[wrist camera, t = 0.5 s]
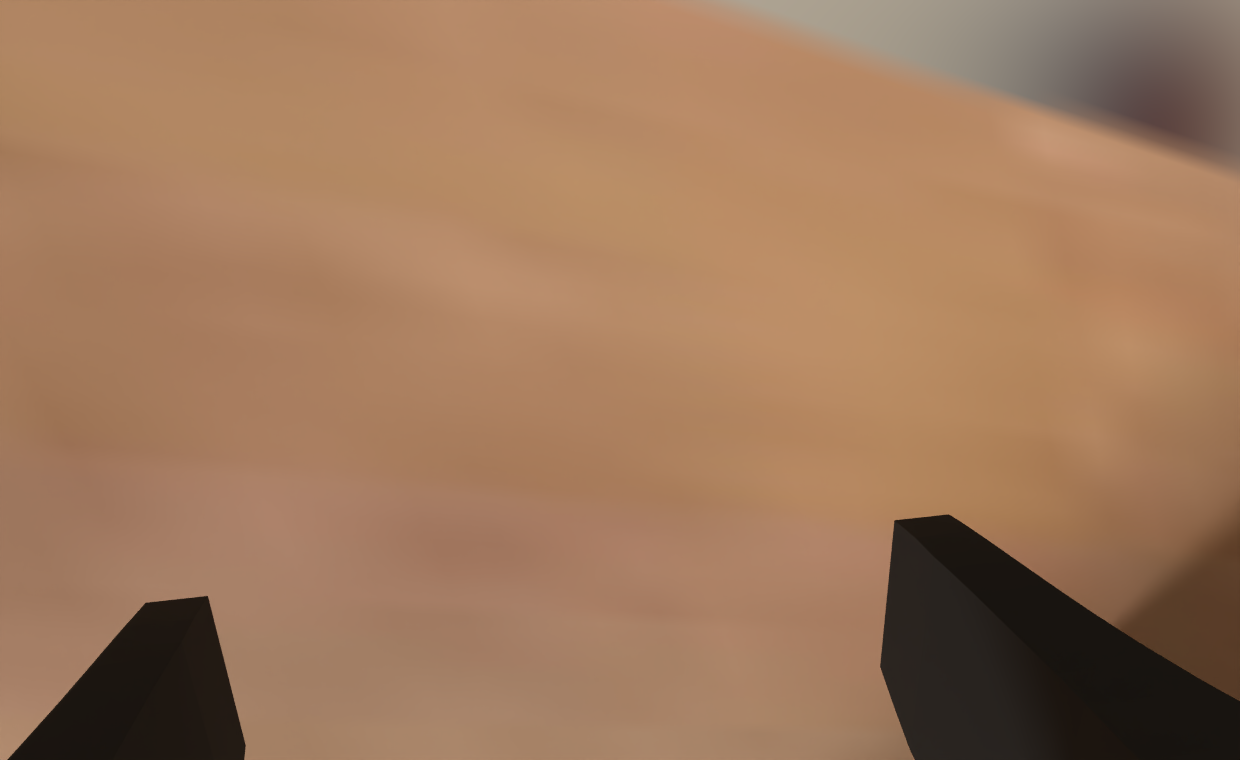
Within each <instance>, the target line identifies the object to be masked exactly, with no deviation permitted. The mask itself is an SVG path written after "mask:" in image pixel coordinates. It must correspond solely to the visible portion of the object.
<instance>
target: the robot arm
mask: <svg viewBox="0 0 1240 760" xmlns="http://www.w3.org/2000/svg"><path fill="white" fill-rule="evenodd" d="M880 667H881V670H882V673H883V676H884V679H885V682H886V685H887V687H888V690H889V693H890V696H891V699H892V702H893V705H894V708H895V711H896V713H897V716H898V719H899V721H900V724H901V727H902V729H903V732H904V735H905V737H906V740H907V743H908V745H909V748H910V750H911V753H912V755H913V757H914V759H915V760H1240V701H1238V700H1236V699H1235V698H1233V697H1231V696H1229V695H1227V694H1225V693H1224V692H1222V691H1220V690H1218V689H1216V688H1215V687H1213V686H1211V685H1209V684H1207V683H1206V682H1204V681H1202V680H1200V679H1199V678H1197V677H1195V676H1194V675H1192V674H1190V673H1189V672H1187V671H1185V670H1184V669H1182V668H1180V667H1179V666H1177V665H1175V664H1174V663H1172V662H1170V661H1169V660H1167V659H1165V658H1164V657H1162V656H1160V655H1159V654H1157V653H1155V652H1154V651H1152V650H1150V649H1149V648H1147V647H1145V646H1144V645H1142V644H1140V643H1139V642H1137V641H1136V640H1134V639H1133V638H1131V637H1129V636H1128V635H1126V634H1125V633H1123V632H1122V631H1120V630H1118V629H1117V628H1115V627H1114V626H1112V625H1111V624H1109V623H1108V622H1106V621H1105V620H1103V619H1102V618H1100V617H1098V616H1097V615H1095V614H1094V613H1092V612H1091V611H1089V610H1088V609H1086V608H1085V607H1083V606H1082V605H1080V604H1079V603H1078V602H1076V601H1075V600H1073V599H1072V598H1070V597H1069V596H1067V595H1066V594H1064V593H1063V592H1061V591H1060V590H1058V589H1057V588H1056V587H1054V586H1053V585H1051V584H1050V583H1048V582H1047V581H1045V580H1044V579H1042V578H1041V577H1040V576H1038V575H1037V574H1035V573H1034V572H1032V571H1031V570H1030V569H1028V568H1027V567H1025V566H1024V565H1022V564H1021V563H1020V562H1018V561H1017V560H1015V559H1014V558H1012V557H1011V556H1010V555H1008V554H1007V553H1005V552H1004V551H1002V550H1001V549H1000V548H998V547H997V546H995V545H994V544H992V543H991V542H990V541H988V540H987V539H985V538H984V537H982V536H981V535H979V534H978V533H977V532H975V531H974V530H972V529H971V528H969V527H968V526H966V525H965V524H963V523H962V522H960V521H958V520H957V519H955V518H954V517H952V516H951V515H940V516H931V517H921V518H912V519H903V520H895V521H894V531H893V542H892V552H891V562H890V572H889V583H888V593H887V603H886V613H885V624H884V634H883V644H882V654H881V664H880ZM245 746H246V745H245V741H244V737H243V733H242V730H241V726H240V722H239V718H238V714H237V710H236V706H235V702H234V698H233V694H232V690H231V686H230V682H229V678H228V674H227V670H226V666H225V662H224V658H223V654H222V650H221V647H220V643H219V639H218V635H217V631H216V627H215V623H214V619H213V615H212V611H211V607H210V603H209V599H208V596H204V597H195V598H186V599H177V600H168V601H159V602H149V603H145V604H144V605H143V607H142V608H141V609H140V610H139V611H138V612H137V613H136V614H135V616H134V617H133V618H132V619H131V620H130V621H129V622H128V623H127V624H126V626H125V627H124V628H123V629H122V630H121V631H120V632H119V633H118V635H117V636H116V637H115V638H114V639H113V640H112V642H111V643H110V644H109V645H108V646H107V647H106V649H105V650H104V651H103V652H102V653H101V654H100V656H99V657H98V658H97V659H96V660H95V661H94V663H93V664H92V665H91V666H90V667H89V668H88V670H87V671H86V672H85V673H84V674H83V675H82V677H81V678H80V679H79V680H78V681H77V682H76V683H75V685H74V686H73V687H72V688H71V689H70V690H69V692H68V693H67V694H66V695H65V696H64V697H63V699H62V700H61V701H60V702H59V703H58V704H57V705H56V706H55V708H54V709H53V710H52V711H51V712H50V713H49V714H48V715H47V716H46V718H45V719H44V720H43V721H42V722H41V723H40V724H39V725H38V726H37V728H36V729H35V730H34V731H33V732H32V733H31V734H30V735H29V736H28V738H27V739H26V740H25V741H24V742H23V743H22V744H21V745H20V746H19V748H18V749H17V750H16V751H15V752H14V753H13V754H12V755H11V757H10V758H9V759H8V760H244V756H245Z"/></svg>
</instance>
